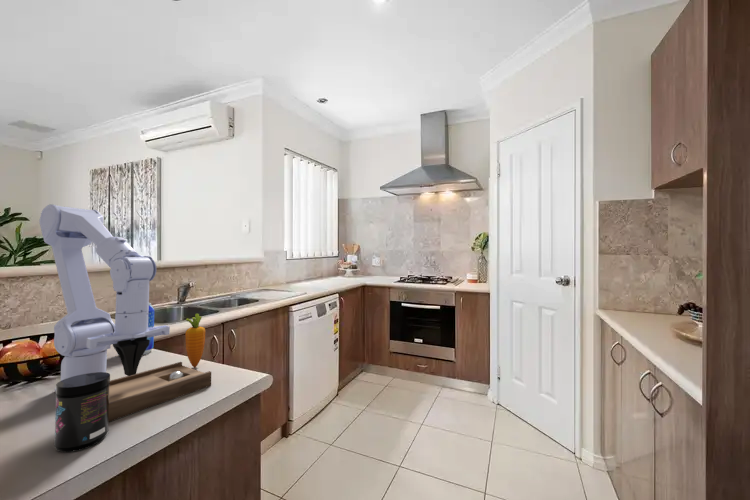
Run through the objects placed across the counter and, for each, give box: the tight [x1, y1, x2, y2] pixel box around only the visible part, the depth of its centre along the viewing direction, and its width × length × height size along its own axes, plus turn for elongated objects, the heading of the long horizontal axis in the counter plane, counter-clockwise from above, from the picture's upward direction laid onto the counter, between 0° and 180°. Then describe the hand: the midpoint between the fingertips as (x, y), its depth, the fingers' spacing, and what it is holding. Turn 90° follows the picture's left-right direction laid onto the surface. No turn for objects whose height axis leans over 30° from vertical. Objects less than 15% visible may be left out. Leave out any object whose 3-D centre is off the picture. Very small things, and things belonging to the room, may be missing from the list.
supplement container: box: [53, 371, 111, 453], centre depth 53 cm, size 7×7×10 cm
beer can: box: [142, 302, 155, 356], centre depth 102 cm, size 8×8×16 cm
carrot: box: [185, 313, 206, 368], centre depth 89 cm, size 5×5×15 cm
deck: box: [108, 361, 212, 423], centre depth 71 cm, size 14×21×3 cm, turn 149°
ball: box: [168, 371, 184, 381], centre depth 77 cm, size 3×3×3 cm
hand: (130, 374), depth 68 cm, fingers closed
